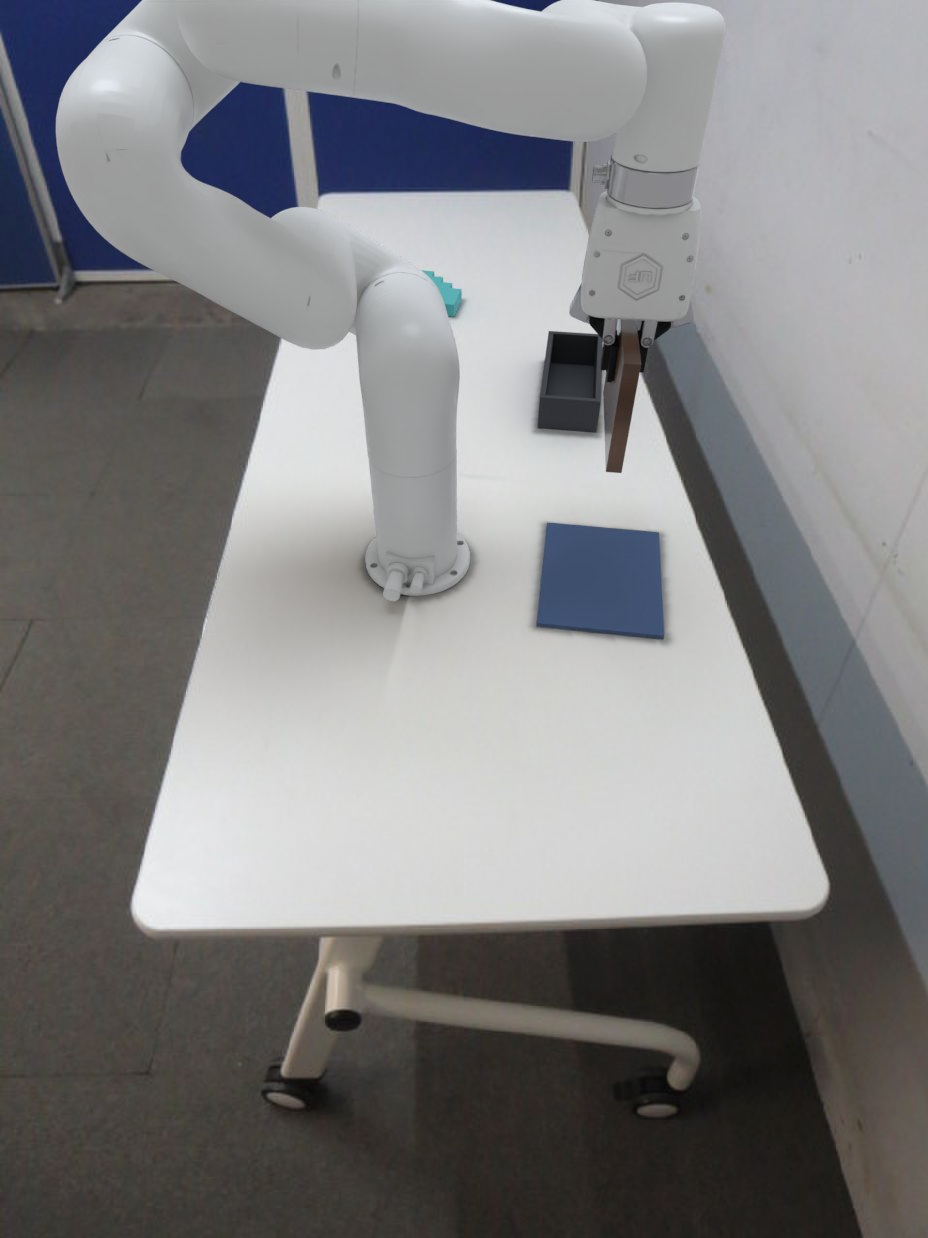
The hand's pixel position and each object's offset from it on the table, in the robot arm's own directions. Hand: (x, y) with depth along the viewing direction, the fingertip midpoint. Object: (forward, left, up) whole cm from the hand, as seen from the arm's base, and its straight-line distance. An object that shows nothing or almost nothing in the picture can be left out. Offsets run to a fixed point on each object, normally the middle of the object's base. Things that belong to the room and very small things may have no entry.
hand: (620, 375), depth 83 cm
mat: (-6, -1, -23) cm, 24 cm away
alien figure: (+64, +36, -23) cm, 77 cm away
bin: (+35, +5, -23) cm, 42 cm away
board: (0, 0, -7) cm, 7 cm away
